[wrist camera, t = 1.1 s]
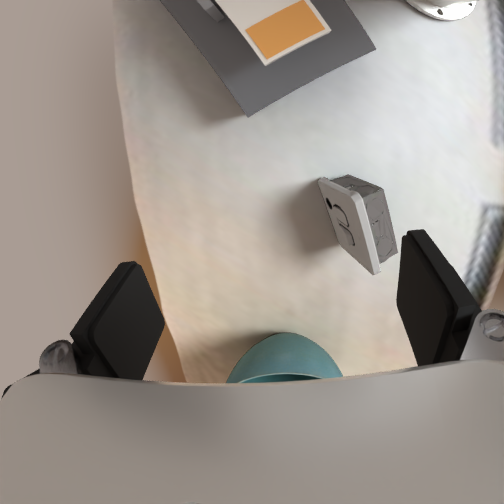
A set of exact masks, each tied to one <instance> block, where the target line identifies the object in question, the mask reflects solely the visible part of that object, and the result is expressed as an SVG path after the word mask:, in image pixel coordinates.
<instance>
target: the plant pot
mask: <svg viewBox="0 0 504 504" xmlns="http://www.w3.org/2000/svg"><path fill="white" fill-rule="evenodd" d="M337 377H343V375H342V373H341V371H340V370H339V368H338V366H337V365H336V363H335V362H334V360H333V359H332V358H331V357H330V356H329V354H328V353H327V352H326V351H325V350H324V349H323V348H321V347H320V346H319V345H318V344H316V343H315V342H313V341H311V340H310V339H308V338H306V337H304V336H301V335H298V334H294V333H280V334H276V335H273V336H270V337H268V338H266V339H264V340H263V341H261V342H259V343H258V344H256V345H255V346H253V347H252V348H251V349H250V350H249V351H248V352H247V353H246V354H245V355H244V356H243V357H242V358H241V359H240V360H239V362H238V363H237V364H236V366H235V367H234V369H233V371H232V372H231V374H230V376H229V378H228V380H227V382H226V383H267V382H287V381H303V380H316V379H327V378H337Z"/></svg>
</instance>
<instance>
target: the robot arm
mask: <svg viewBox="0 0 504 504" xmlns="http://www.w3.org/2000/svg"><path fill="white" fill-rule="evenodd" d="M406 1H407V2H408V3H409V4H410V5H412V6H413V7H414V8H416V9H417V10H419V11H420V12H422V13H424V14H426V15H428V16H430V17H433V18H435V19H440V20H447V21H453V20H458V19H461V18H464V17H466V16H467V15H469V14H470V13H471V12H472V10H473V9H474V6H475V4H476V1H478V0H406ZM437 12H438V13H437ZM396 300H397V308H398V311H399V313H400V316H401V319H402V321H403V324H404V327H405V329H406V332H407V335H408V338H409V341H410V343H411V346H412V349H413V352H414V355H415V358H416V361H417V364H418V366H417V367H411V368H405V369H399V370H392V371H385V372H378V373H370V374H363V375H355V376H346V377H337V378H327V379H316V380H303V381H287V382H267V383H180V382H158V381H144V380H143V377H144V374H145V372H146V370H147V367H148V365H149V362H150V360H151V357H152V355H153V353H154V350H155V348H156V345H157V343H158V341H159V338H160V336H161V333H162V331H163V329H164V325H165V321H164V317H163V315H162V313H161V311H160V309H159V306H158V304H157V302H156V299H155V297H154V295H153V292H152V290H151V288H150V286H149V283H148V281H147V278H146V276H145V273H144V271H143V269H142V267H141V265H139V264H137V263H136V262H135V261H131V262H122V263H120V264H119V265H118V267H117V268H116V269H115V271H114V272H113V273H112V275H111V276H110V277H109V279H108V280H107V281H106V283H105V284H104V285H103V287H102V288H101V290H100V291H99V292H98V294H97V295H96V296H95V298H94V300H93V301H92V302H91V304H90V305H89V306H88V308H87V309H86V311H85V312H84V313H83V315H82V316H81V318H80V319H79V321H78V322H77V324H76V325H75V327H74V328H73V330H72V331H71V332H70V335H71V337H72V339H73V340H74V342H73V343H72V344H71V343H70V342H69V341H68V340H58V341H56V342H54V343H52V344H51V345H49V346H48V347H47V348H46V349H45V350H44V351H43V353H42V354H41V356H40V361H39V366H40V369H38V370H37V371H35V372H33V373H31V374H30V375H28V376H26V377H24V378H22V379H20V380H18V381H17V382H15V383H14V384H12V385H10V386H8V387H7V388H6V389H5V390H4V393H3V396H2V399H1V401H0V504H504V312H503V311H501V310H496V309H487V310H484V311H481V309H480V307H479V306H478V304H477V303H476V301H475V299H474V298H473V296H472V295H471V293H470V292H469V290H468V289H467V287H466V285H465V284H464V282H463V281H462V280H461V278H460V277H459V275H458V274H457V272H456V271H455V269H454V268H453V267H452V266H451V265H450V264H449V262H448V261H447V260H446V258H445V257H444V255H443V254H442V253H441V251H440V250H439V249H438V247H437V246H436V245H435V243H434V242H433V241H432V239H431V238H430V237H429V235H428V234H427V233H426V231H425V230H424V229H421V230H411V231H408V232H407V234H406V235H404V236H403V237H402V244H401V259H400V270H399V281H398V290H397V299H396Z"/></svg>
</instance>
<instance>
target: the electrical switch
mask: <svg viewBox="0 0 504 504" xmlns="http://www.w3.org/2000/svg"><path fill="white" fill-rule="evenodd" d="M318 185H319V187H320V190H321V193H322V196H323V198H324V201H325V204H326V207H327V210H328V213H329V215H330V218H331V221H332V224H333V227H334V230H335V233H336V236H337V239H338V242H339V244H340V245H341V247H342V248H343V249H345V250H346V251H347V252H348V253H349V254H350V255H351V256H352V257H353V258H355V259H356V260H357V261H358V262H359V263H360V264H361V265H362V266H363V267H364V268H365V269H367V270H368V271H369V272H370V273H371V274H372V275H375V274H377V273H379V272H381V269H380V264H381V263H382V262H384V261H386V260H387V259H388V258H389V257H391V256H393V255H395V254H396V253H398V251H397V246H396V241H395V236H394V231H393V227H392V222H391V218H390V214H389V210H388V206H387V201H386V198H385V194H384V190H383V189H382V188H381V187H378V186H376V185H373V184H371V183H369V182H366V181H364V180H361V179H358V178H356V177H353V176H351V175H346V176H344V177H342V178H338V179H335V180H333V181H329V180H328V178H326V177H323V178H321V179H320V180H318ZM352 186H353V187H352ZM380 189H381V190H380ZM378 190H379V191H378ZM372 224H373V225H374V226H372ZM382 235H383V236H382ZM380 236H381V237H380ZM392 242H393V243H392Z"/></svg>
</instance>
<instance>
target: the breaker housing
mask: <svg viewBox="0 0 504 504" xmlns="http://www.w3.org/2000/svg"><path fill="white" fill-rule="evenodd" d="M160 1H161V2H162V4H163V5H164V6H165V7H166V8H167V10H168V11H169V12H170V13H171V14H172V16H173V17H174V18H175V19H176V21H177V22H178V23H179V24H180V26H181V27H182V28H183V30H184V31H185V32H186V33H187V35H188V36H189V37H190V38H191V40H192V41H193V42H194V44H195V45H196V46H197V48H198V49H199V50H200V52H201V53H202V54H203V55H204V57H205V58H206V59H207V61H208V62H209V64H210V65H211V66H212V68H213V69H214V70H215V72H216V73H217V74H218V76H219V77H220V79H221V80H222V81H223V83H224V84H225V85H226V87H227V88H228V90H229V91H230V92H231V94H232V95H233V97H234V98H235V100H236V101H237V102H238V104H239V105H240V107H241V108H242V110H243V111H244V113H245V114H246V115H247V117H250V116H251V115H253V114H255V113H256V112H258V111H260V110H261V109H263V108H265V107H266V106H268V105H270V104H271V103H273V102H275V101H277V100H278V99H280V98H282V97H283V96H285V95H287V94H289V93H291V92H292V91H294V90H296V89H298V88H300V87H301V86H303V85H305V84H307V83H309V82H311V81H313V80H314V79H316V78H318V77H320V76H322V75H324V74H326V73H328V72H330V71H332V70H334V69H336V68H338V67H340V66H342V65H344V64H346V63H348V62H350V61H352V60H354V59H356V58H359V57H361V56H363V55H365V54H367V53H370V52H372V51H374V50H376V48H375V46H374V44H373V43H372V41H371V39H370V38H369V36H368V35H367V33H366V32H365V30H364V29H363V27H362V25H361V24H360V22H359V21H358V20H357V18H356V17H355V15H354V14H353V12H352V11H351V9H350V8H349V7H348V5H347V4H346V2H345V1H344V0H310V1H311V3H312V4H313V5H314V7H315V8H316V9H317V11H318V12H319V13H320V15H321V16H322V18H323V19H324V20H325V22H326V23H327V25H328V26H329V27H330V29H331V31H330V33H328V34H326V35H324V36H322V37H319V38H317V39H315V40H313V41H311V42H309V43H307V44H305V45H304V46H302V47H300V48H298V49H296V50H294V51H292V52H290V53H288V54H287V55H285V56H283V57H281V58H279V59H277V60H276V61H274V62H272V63H270V64H269V65H267V66H265V65H264V64H263V62H262V61H261V59H260V58H259V57H258V55H257V54H256V52H255V51H254V50H253V48H252V47H251V46H250V44H249V43H248V42H247V40H246V39H245V38H244V36H243V35H242V34H241V32H240V31H239V30H238V28H237V27H236V26H235V25H234V23H233V22H232V21H231V20H230V18H229V17H228V16H227V15H226V13H225V12H224V11H223V10H222V8H221V7H220V6H219V5H218V4H217V2H216V1H215V0H160Z"/></svg>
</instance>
